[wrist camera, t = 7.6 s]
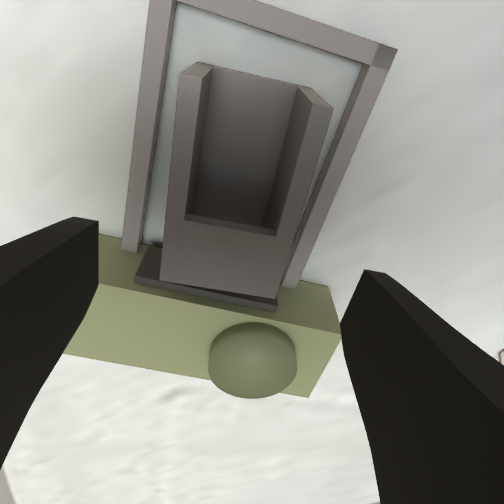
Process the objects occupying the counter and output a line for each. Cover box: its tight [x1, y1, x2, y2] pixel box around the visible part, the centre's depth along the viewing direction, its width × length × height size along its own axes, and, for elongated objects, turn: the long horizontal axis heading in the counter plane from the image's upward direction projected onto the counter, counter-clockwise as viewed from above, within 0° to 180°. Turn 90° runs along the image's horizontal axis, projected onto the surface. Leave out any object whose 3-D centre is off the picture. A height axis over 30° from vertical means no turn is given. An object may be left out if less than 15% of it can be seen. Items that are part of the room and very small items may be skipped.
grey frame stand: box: [63, 0, 398, 399], centre depth 17 cm, size 14×17×5 cm
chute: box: [159, 62, 334, 299], centre depth 16 cm, size 8×5×5 cm, turn 168°
